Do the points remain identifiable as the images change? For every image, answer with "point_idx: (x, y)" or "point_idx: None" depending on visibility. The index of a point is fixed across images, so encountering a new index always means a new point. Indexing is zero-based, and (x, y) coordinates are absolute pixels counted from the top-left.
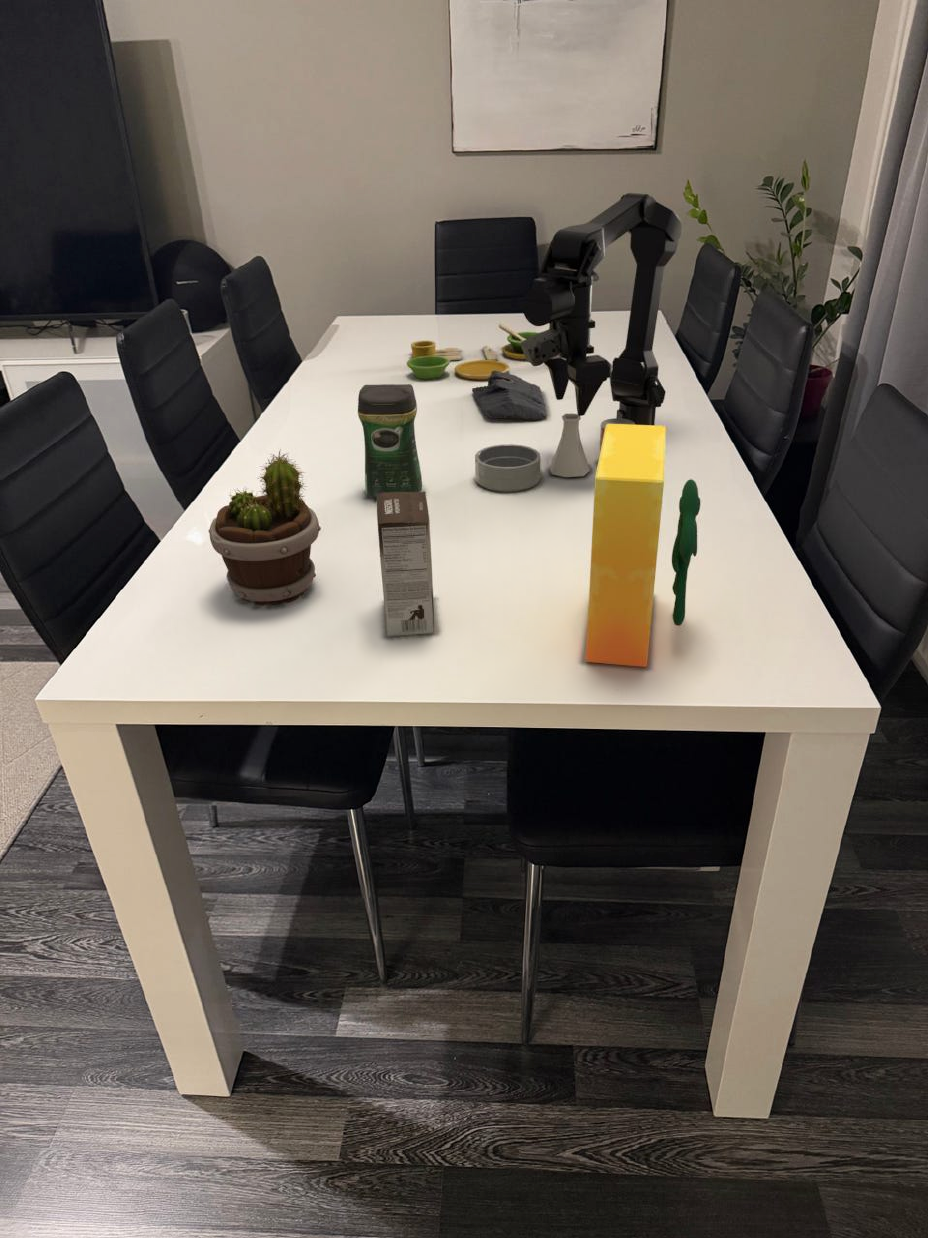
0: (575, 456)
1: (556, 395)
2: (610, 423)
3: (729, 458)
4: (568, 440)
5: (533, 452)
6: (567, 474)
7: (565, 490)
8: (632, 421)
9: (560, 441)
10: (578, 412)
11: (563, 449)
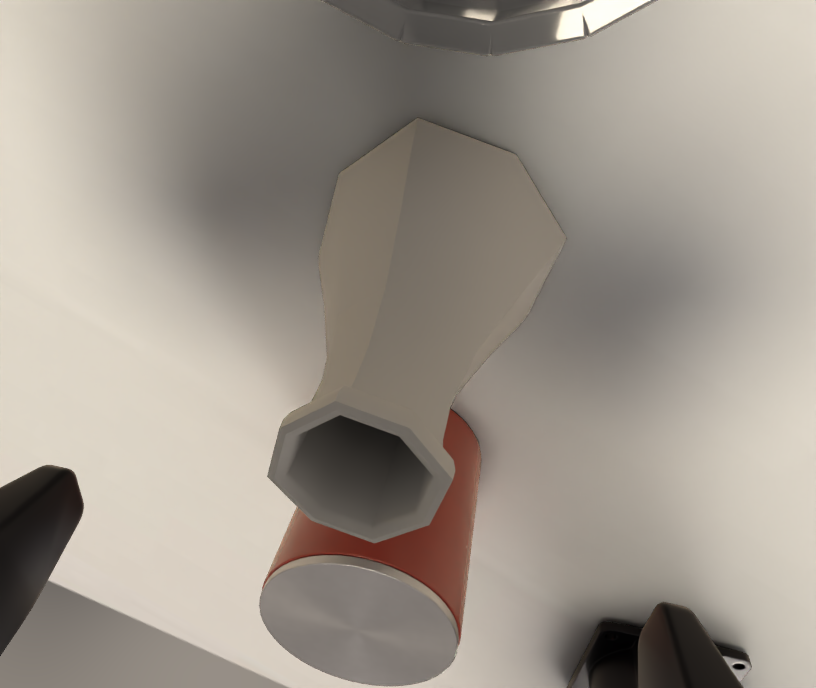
0: (330, 282)
1: (679, 645)
2: (382, 612)
3: (284, 681)
4: (346, 310)
5: (483, 17)
6: (338, 181)
7: (190, 65)
8: (356, 681)
9: (434, 281)
10: (10, 484)
11: (375, 248)
